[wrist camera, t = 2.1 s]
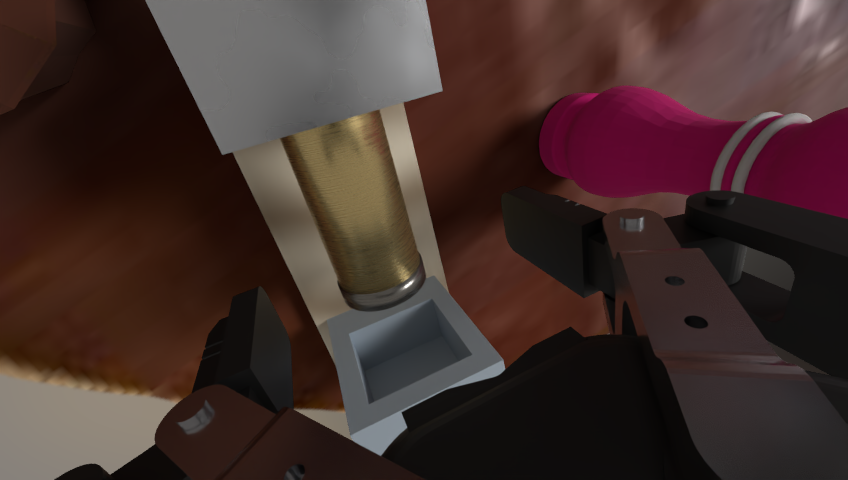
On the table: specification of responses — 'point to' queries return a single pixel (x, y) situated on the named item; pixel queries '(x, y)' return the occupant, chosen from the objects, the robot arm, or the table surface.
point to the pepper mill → (695, 150)
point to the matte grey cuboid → (296, 61)
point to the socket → (405, 360)
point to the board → (297, 228)
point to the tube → (358, 210)
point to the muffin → (39, 45)
